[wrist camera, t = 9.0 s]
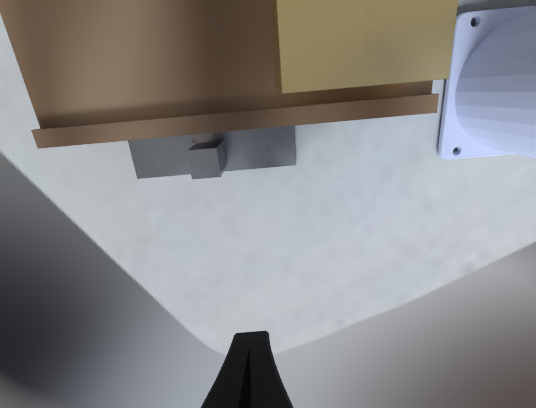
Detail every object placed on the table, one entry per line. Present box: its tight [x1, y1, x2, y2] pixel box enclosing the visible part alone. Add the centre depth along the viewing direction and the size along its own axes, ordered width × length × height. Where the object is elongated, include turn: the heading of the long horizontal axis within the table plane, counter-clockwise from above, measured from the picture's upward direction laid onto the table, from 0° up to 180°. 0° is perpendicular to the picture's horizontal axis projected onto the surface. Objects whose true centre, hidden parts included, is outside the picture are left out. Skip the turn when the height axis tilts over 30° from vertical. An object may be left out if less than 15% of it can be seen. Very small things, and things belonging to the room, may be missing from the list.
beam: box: [0, 0, 439, 148], centre depth 13 cm, size 18×8×3 cm, turn 95°
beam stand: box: [128, 125, 296, 179], centre depth 15 cm, size 10×13×4 cm
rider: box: [270, 0, 458, 94], centre depth 11 cm, size 6×4×3 cm
